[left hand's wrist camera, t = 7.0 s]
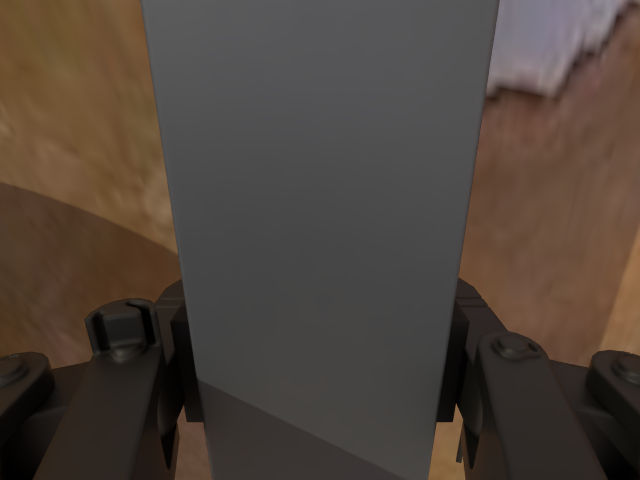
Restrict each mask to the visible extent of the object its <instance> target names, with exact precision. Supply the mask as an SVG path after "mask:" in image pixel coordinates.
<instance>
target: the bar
mask: <svg viewBox="0 0 640 480" xmlns="http://www.w3.org/2000/svg"><path fill="white" fill-rule="evenodd" d="M499 1H500V0H140V2H141V9H142V15H143V22H144V29H145V35H146V42H147V49H148V55H149V62H150V69H151V75H152V82H153V89H154V95H155V102H156V109H157V115H158V122H159V129H160V135H161V142H162V149H163V155H164V162H165V169H166V175H167V182H168V189H169V195H170V202H171V209H172V215H173V222H174V229H175V235H176V242H177V249H178V255H179V262H180V269H181V275H182V282H183V289H184V295H185V302H186V309H187V315H188V322H189V329H190V335H191V342H192V349H193V355H194V362H195V369H196V375H197V382H198V389H199V395H200V402H201V409H202V415H203V422H204V429H205V436H206V442H207V449H208V456H209V462H210V469H211V476H212V480H428V476H429V469H430V462H431V456H432V449H433V442H434V436H435V429H436V422H437V415H438V409H439V402H440V395H441V389H442V382H443V375H444V369H445V362H446V355H447V349H448V342H449V335H450V328H451V322H452V315H453V308H454V302H455V295H456V288H457V282H458V275H459V268H460V262H461V255H462V248H463V241H464V235H465V228H466V221H467V215H468V208H469V201H470V195H471V188H472V181H473V175H474V168H475V161H476V155H477V148H478V141H479V134H480V128H481V121H482V114H483V108H484V101H485V94H486V88H487V81H488V74H489V68H490V61H491V54H492V47H493V41H494V34H495V27H496V21H497V14H498V7H499Z"/></svg>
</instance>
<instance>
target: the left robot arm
mask: <svg viewBox="0 0 640 480" xmlns="http://www.w3.org/2000/svg"><path fill="white" fill-rule="evenodd" d="M84 320H85V324H86V328H87V332H88V335H89V339H90V343H91V347H92V350H93V356H92V358H91V360H90V361H89V362H85V363H81V364H76V365H71V366H66V367H61V368H56V369H51V366H50V363H49V360H48V358H47V357H46V356H45V355H44V354H42V353H36V352H25V353H16V354H11V355H10V356H4V357H1V358H0V480H174V479H175V471H176V462H177V454H178V446H179V438H180V437H179V430H178V424H177V419H178V417H179V414H180V412H181V410H182V407H183V405H184V408H185V414H186V419H187V422H203V415H202V409H201V402H200V395H199V389H198V382H197V375H196V369H195V362H194V355H193V349H192V342H191V335H190V329H189V322H188V315H187V309H186V302H185V295H184V289H183V282H182V280H179V281H177V282H175V283H174V284H172V285H171V286H169V287H167V288H166V289H165V290H164V292H163V293H162V294H161V296H160V297H159V300H157V301H156V302H155V303H153V302H151V301H150V300H146V299H141V298H134V299H124V300H119V301H114V302H111V303H109V304H106V305H103V306H101V307H99V308H98V309H96V310H94V311H92V312H91V313H90V314H89V315H88V316H87V317H86V318H85V319H84ZM456 404H457V406H458V408H459V411H460V413H461V415H462V417H463V424H462V430H461V435H460V440H459V446H458V451H457V458H456V462H459V463H461V461H462V456H463V461H464V470H465V478H466V480H640V356H638V355H635V354H630V353H628V352H624V351H614V350H605V351H599V352H597V353H596V354H594V355H593V356H592V359H591V362H590V365H589V368H587V367H582V366H577V365H572V364H567V363H562V362H558V361H554V360H550V359H549V358H548V355H547V354H546V352H545V351H544V350H543V348H542V347H541V346H540V345H539V344H537V343H536V342H534V341H533V340H531V339H530V338H527V337H525V336H523V335H520V334H518V333H513V332H509V331H508V330H507V329H506V328H505V327H504V325H503V324H502V323H501V321H500V320H499V319H498V318H497V316H496V315H495V314H494V312H493V311H492V310H491V309H490V307H488V305H487V303H486V302H485V301H484V300H483V299H481V296H480V294H479V293H478V292H477V291H476V289H475V288H474V287H473V286H471V285H470V284H468V283H467V282H465V281H463V280H462V279H460V278H458V282H457V288H456V295H455V302H454V308H453V315H452V322H451V328H450V335H449V342H448V349H447V355H446V362H445V369H444V375H443V382H442V389H441V395H440V402H439V409H438V415H437V422H453V418H454V412H455V406H456Z"/></svg>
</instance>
